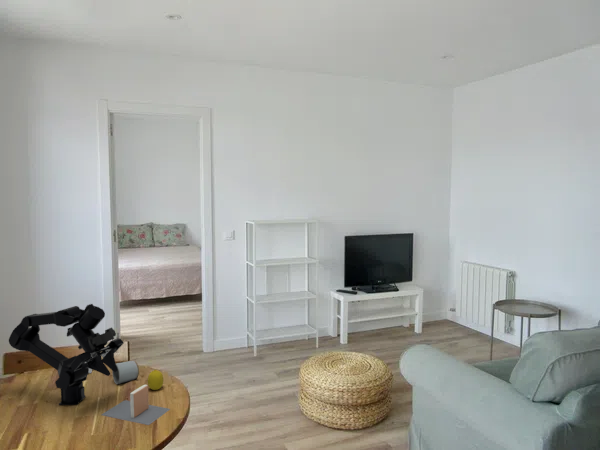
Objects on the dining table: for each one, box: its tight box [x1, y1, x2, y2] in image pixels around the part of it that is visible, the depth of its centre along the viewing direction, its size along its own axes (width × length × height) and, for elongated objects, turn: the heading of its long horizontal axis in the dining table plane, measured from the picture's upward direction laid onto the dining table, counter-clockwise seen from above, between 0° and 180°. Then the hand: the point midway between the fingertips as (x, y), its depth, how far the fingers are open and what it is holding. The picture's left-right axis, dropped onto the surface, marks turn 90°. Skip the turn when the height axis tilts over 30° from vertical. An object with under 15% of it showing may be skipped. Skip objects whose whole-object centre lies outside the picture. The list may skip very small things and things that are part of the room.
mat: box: [100, 399, 171, 426], centre depth 147 cm, size 19×11×1 cm, turn 70°
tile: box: [129, 384, 150, 418], centre depth 146 cm, size 2×7×8 cm, turn 160°
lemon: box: [147, 369, 164, 391], centre depth 164 cm, size 6×6×8 cm
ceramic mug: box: [111, 360, 140, 385], centre depth 174 cm, size 11×8×8 cm
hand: (113, 373), depth 149 cm, fingers open, 3 cm apart
